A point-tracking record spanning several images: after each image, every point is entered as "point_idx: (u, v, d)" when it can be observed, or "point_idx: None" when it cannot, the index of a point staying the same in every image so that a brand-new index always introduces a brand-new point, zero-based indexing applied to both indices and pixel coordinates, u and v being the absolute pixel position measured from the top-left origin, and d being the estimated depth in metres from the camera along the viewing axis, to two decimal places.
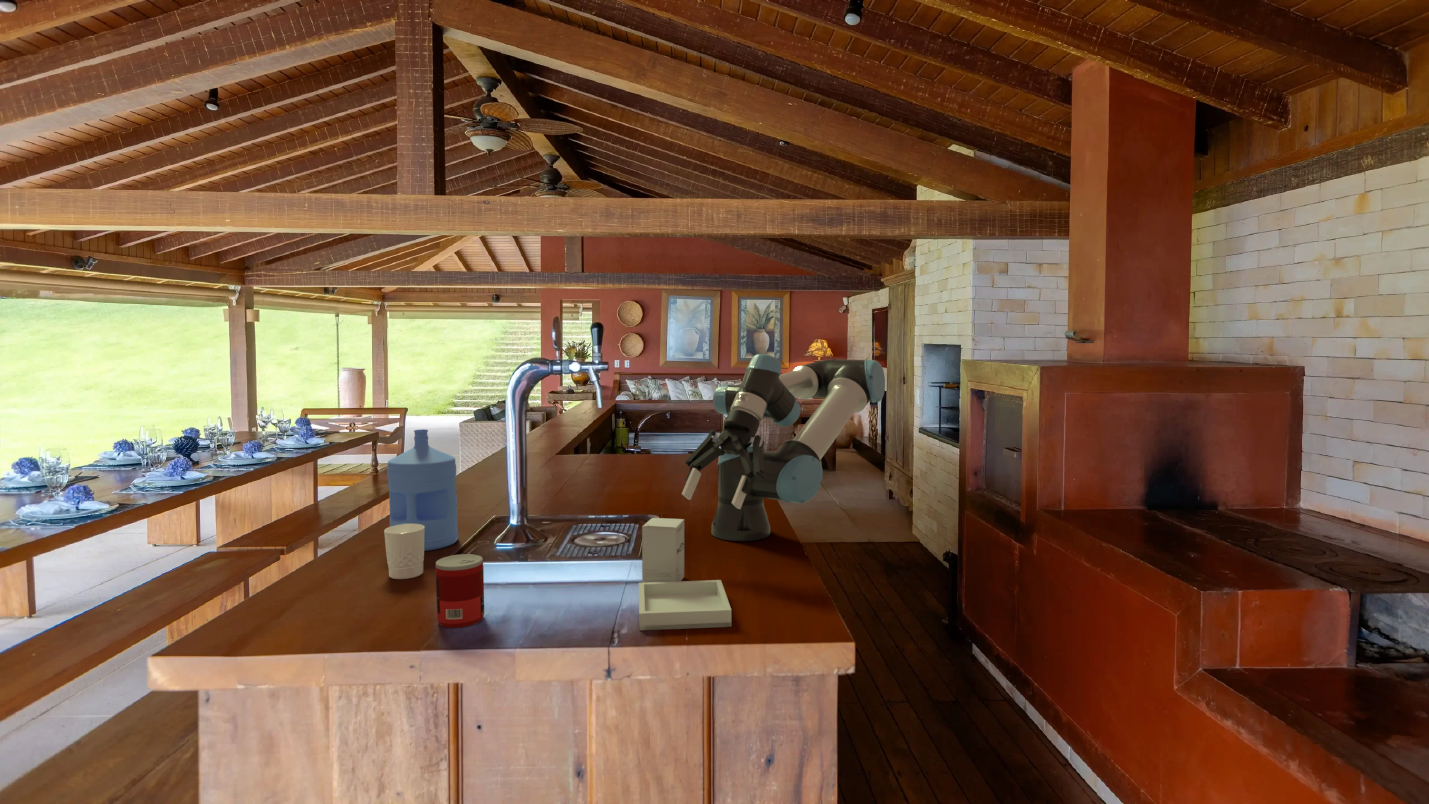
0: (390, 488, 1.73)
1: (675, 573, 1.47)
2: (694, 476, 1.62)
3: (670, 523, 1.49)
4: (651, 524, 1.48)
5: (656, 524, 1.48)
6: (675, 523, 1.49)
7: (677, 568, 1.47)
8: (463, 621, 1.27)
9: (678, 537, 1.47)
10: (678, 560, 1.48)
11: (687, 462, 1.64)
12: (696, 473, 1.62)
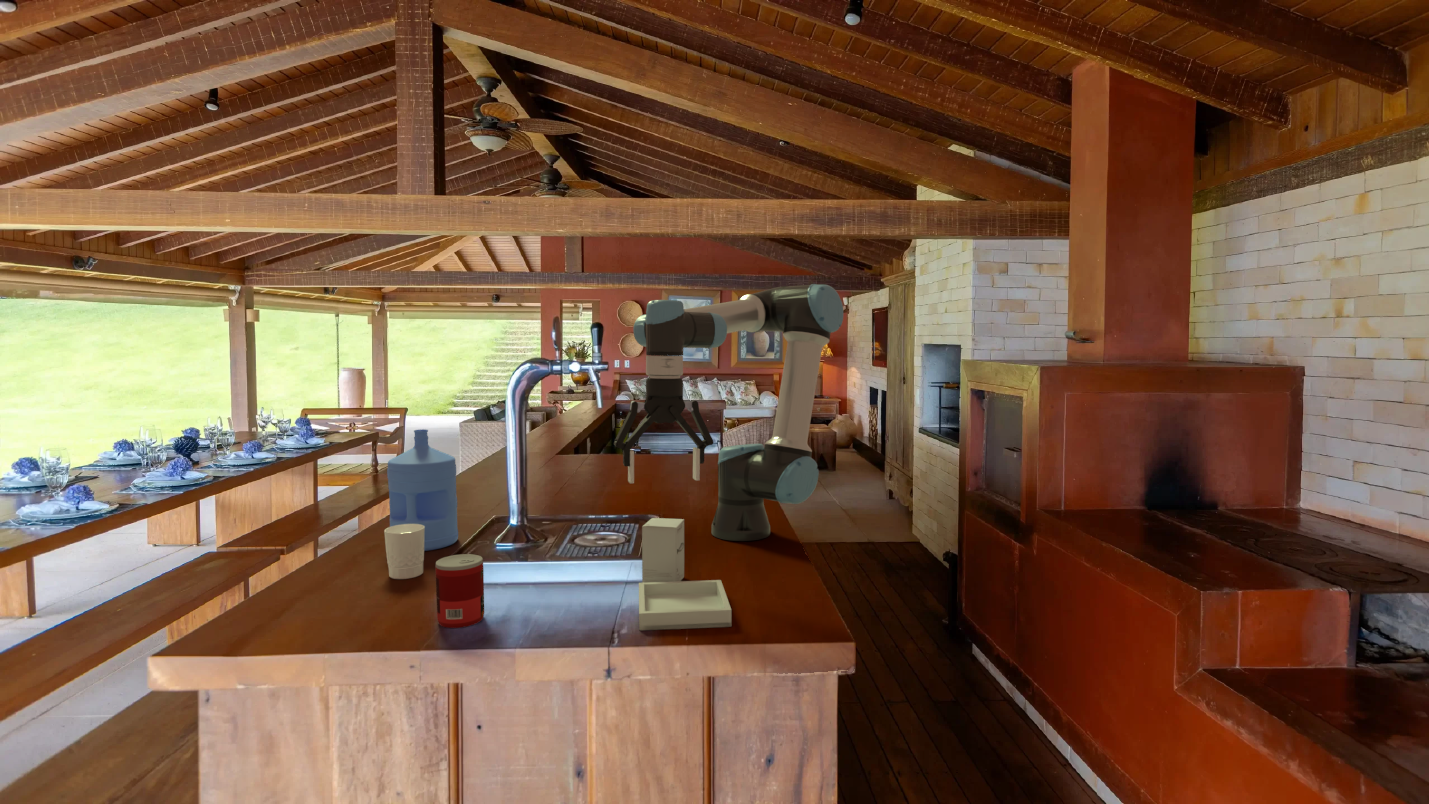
0: (390, 488, 1.73)
1: (675, 573, 1.47)
2: None
3: (670, 523, 1.49)
4: (651, 524, 1.48)
5: (656, 524, 1.48)
6: (675, 523, 1.49)
7: (677, 568, 1.47)
8: (463, 621, 1.27)
9: (678, 537, 1.47)
10: (678, 560, 1.48)
11: (619, 446, 1.45)
12: None
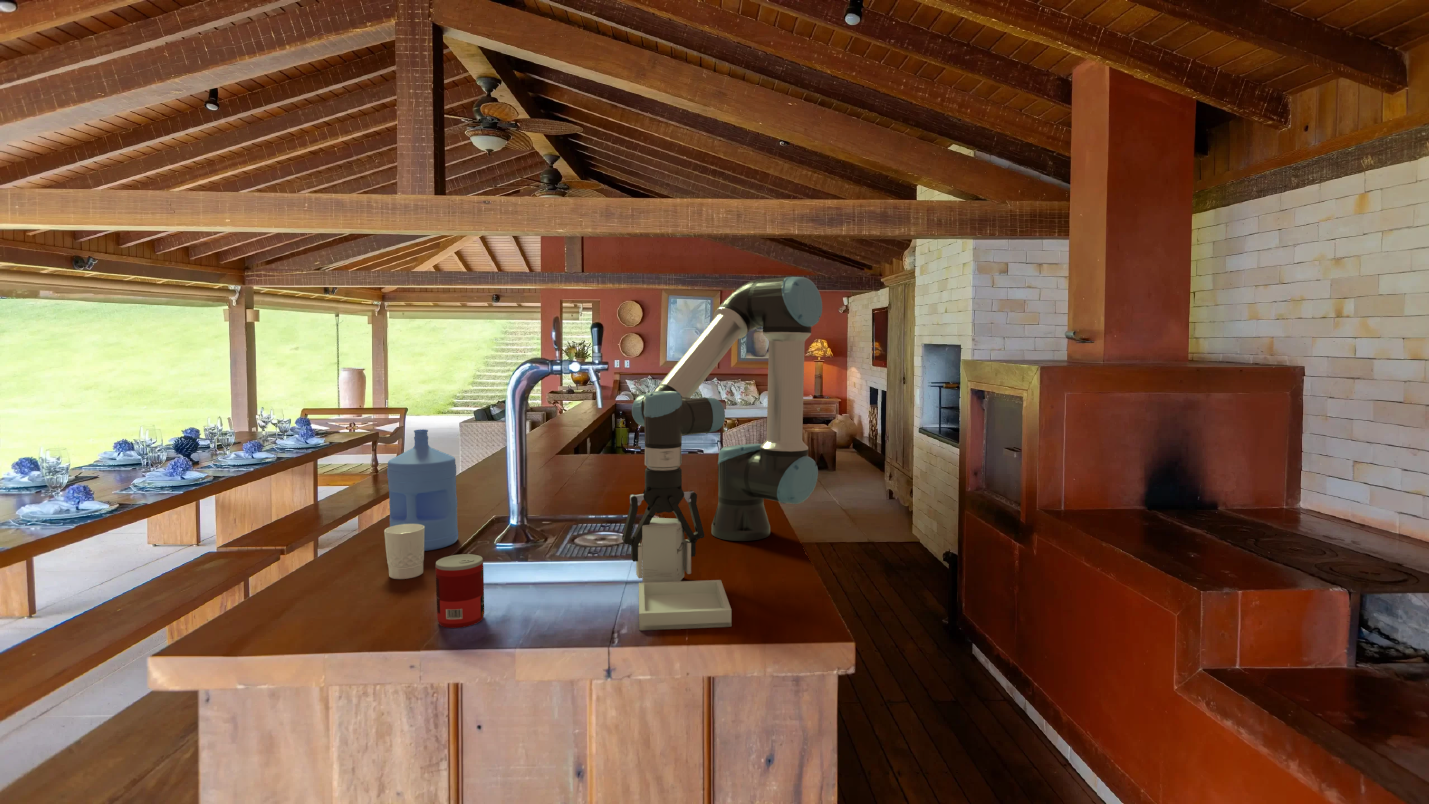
0: (390, 488, 1.73)
1: (675, 573, 1.47)
2: None
3: (670, 523, 1.49)
4: (651, 524, 1.48)
5: (656, 524, 1.48)
6: (675, 523, 1.49)
7: (677, 568, 1.47)
8: (463, 621, 1.27)
9: (678, 537, 1.47)
10: (678, 560, 1.48)
11: (628, 542, 1.47)
12: None
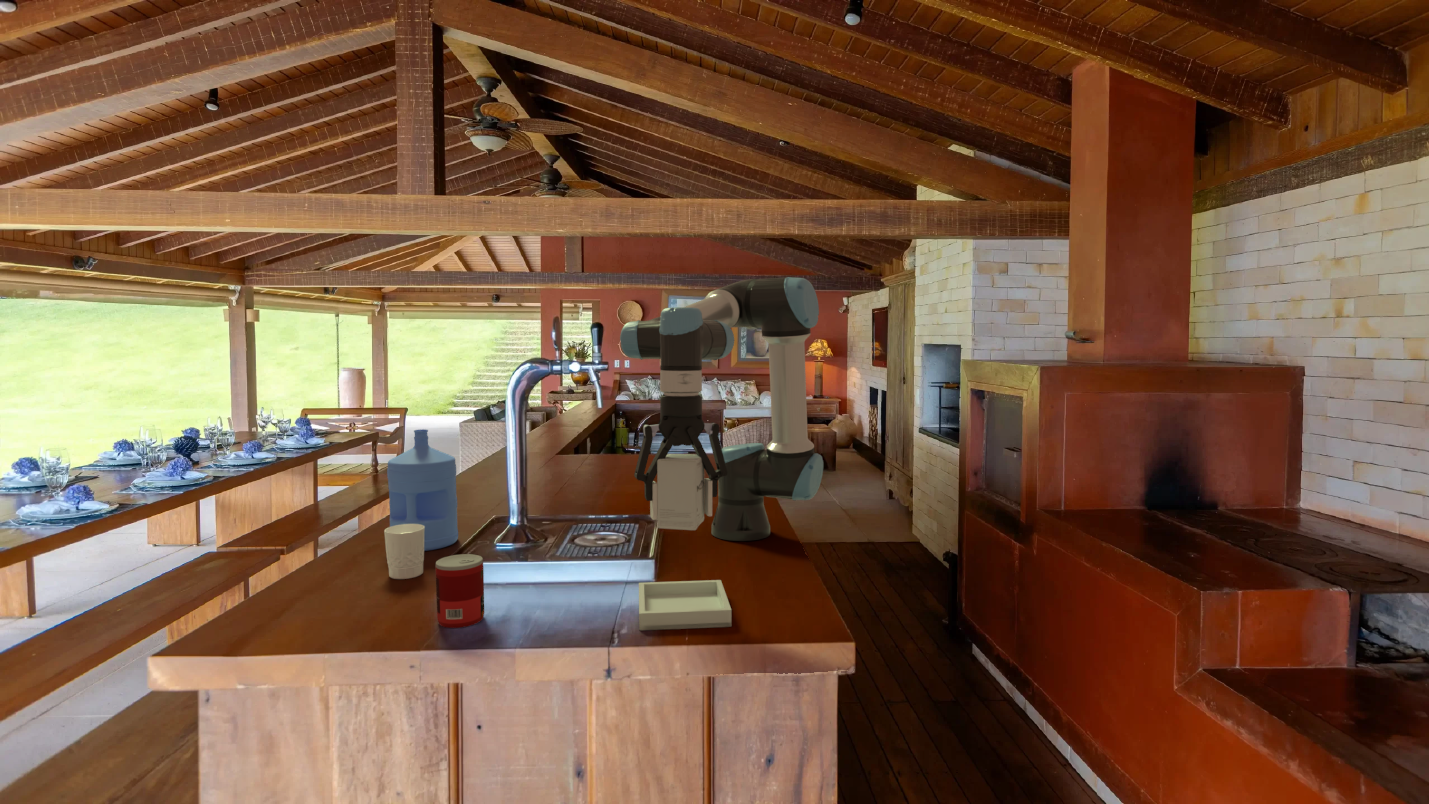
0: (390, 488, 1.73)
1: (695, 513, 1.29)
2: None
3: (689, 457, 1.31)
4: (667, 458, 1.30)
5: (673, 458, 1.30)
6: (694, 457, 1.31)
7: (697, 507, 1.30)
8: (463, 621, 1.27)
9: (698, 472, 1.30)
10: (698, 499, 1.30)
11: (641, 478, 1.29)
12: None
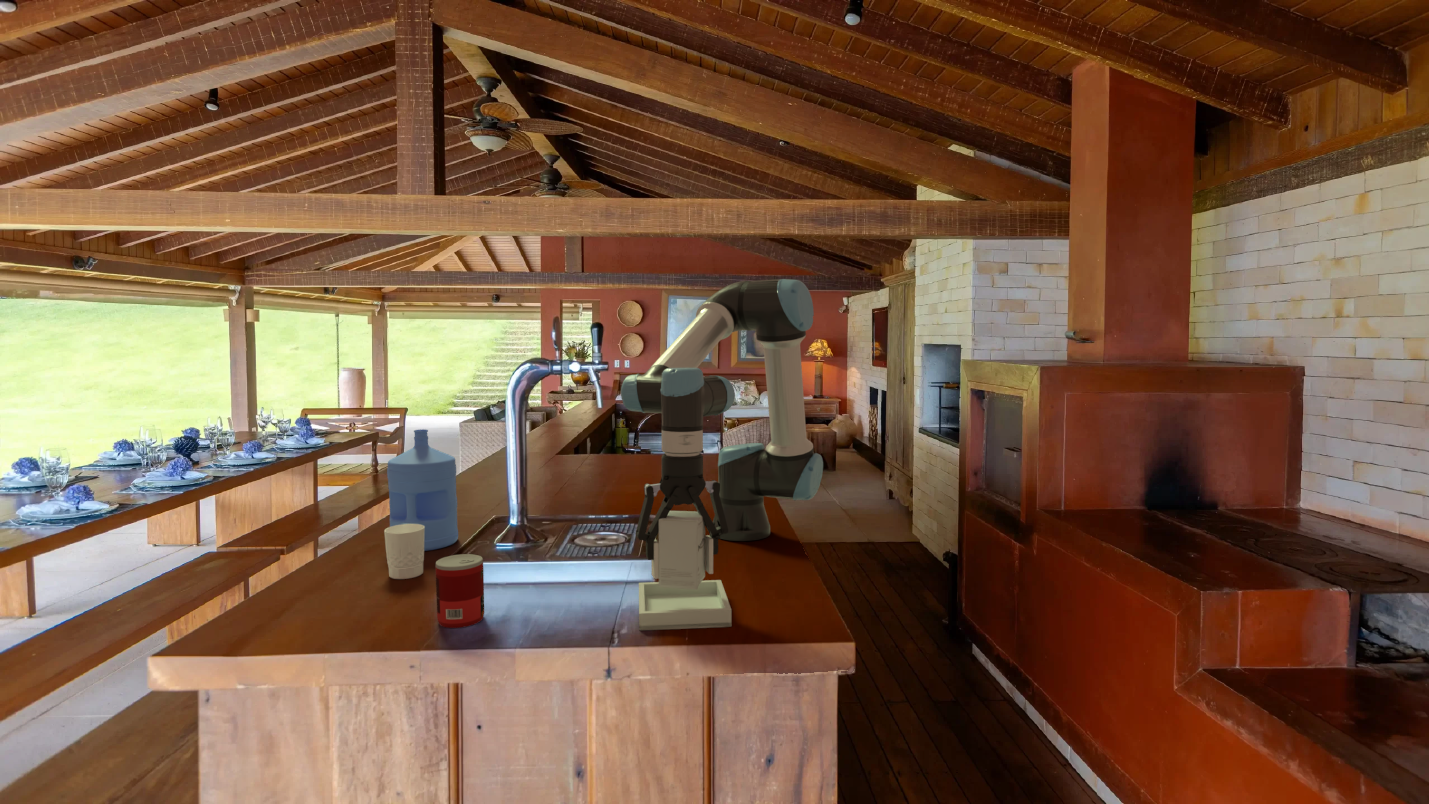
0: (390, 488, 1.73)
1: (696, 572, 1.30)
2: None
3: (690, 516, 1.32)
4: (669, 517, 1.31)
5: (674, 517, 1.31)
6: (696, 516, 1.32)
7: (698, 567, 1.30)
8: (463, 621, 1.27)
9: (699, 532, 1.30)
10: (699, 558, 1.31)
11: (642, 537, 1.30)
12: None
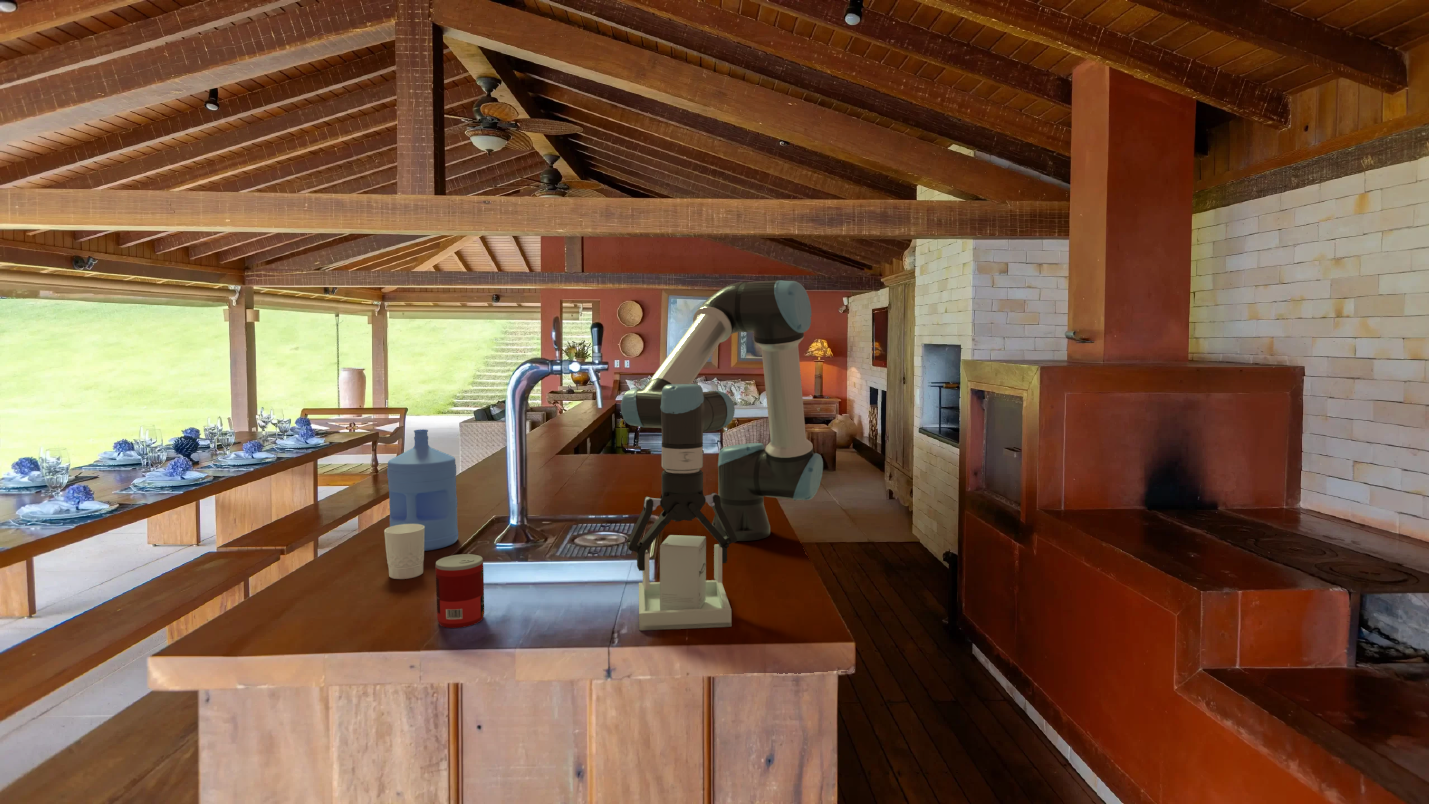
0: (390, 488, 1.73)
1: (697, 598, 1.30)
2: None
3: (691, 541, 1.32)
4: (670, 543, 1.31)
5: (675, 543, 1.31)
6: (697, 541, 1.32)
7: (699, 592, 1.31)
8: (463, 621, 1.27)
9: (700, 557, 1.31)
10: (700, 583, 1.31)
11: (633, 549, 1.30)
12: None
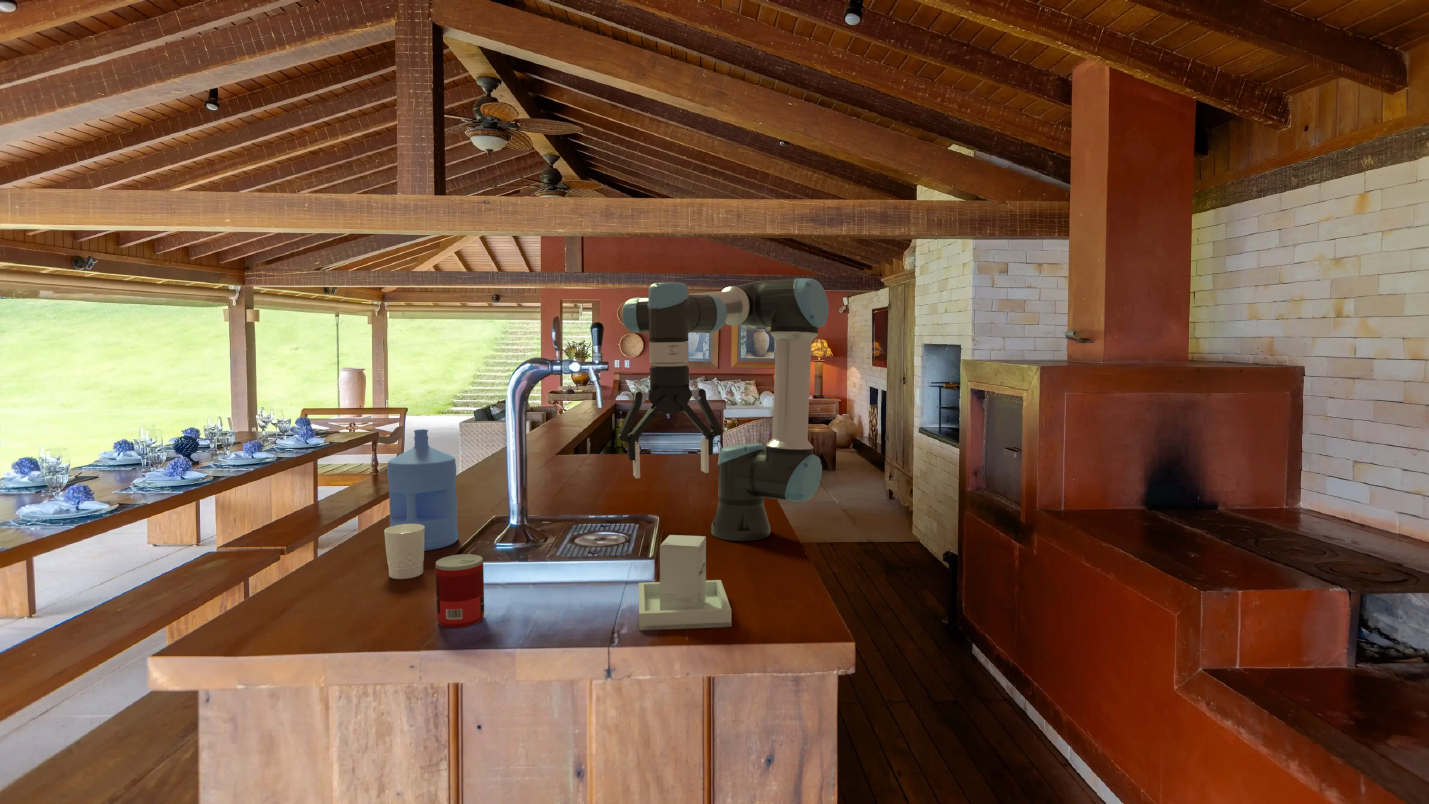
0: (390, 488, 1.73)
1: (697, 598, 1.30)
2: None
3: (691, 541, 1.32)
4: (670, 543, 1.31)
5: (675, 543, 1.31)
6: (697, 541, 1.32)
7: (699, 592, 1.31)
8: (463, 621, 1.27)
9: (700, 557, 1.31)
10: (700, 583, 1.31)
11: (624, 439, 1.36)
12: None
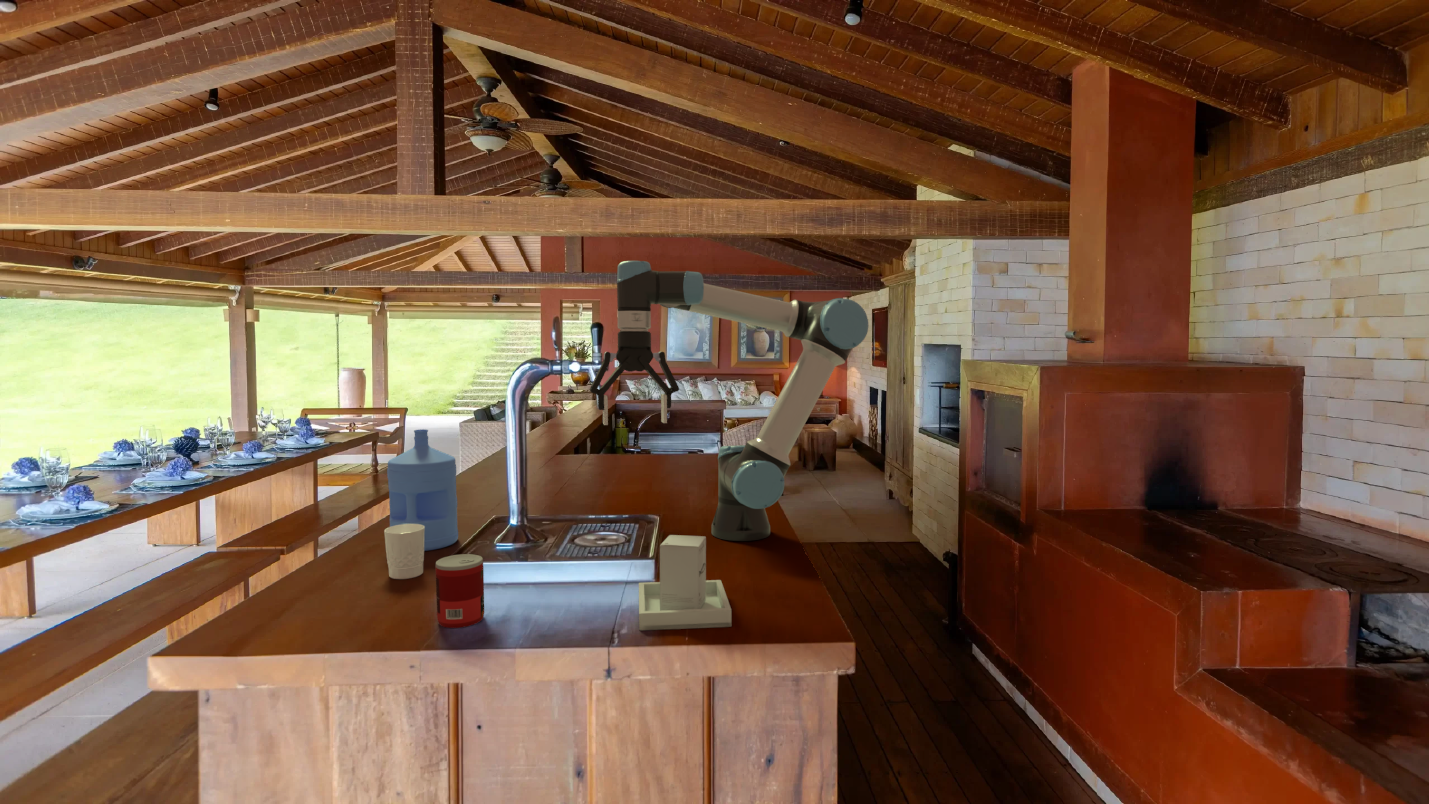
0: (390, 488, 1.73)
1: (697, 598, 1.30)
2: None
3: (691, 541, 1.32)
4: (670, 543, 1.31)
5: (675, 543, 1.31)
6: (697, 541, 1.32)
7: (699, 592, 1.31)
8: (463, 621, 1.27)
9: (700, 557, 1.31)
10: (700, 583, 1.31)
11: (594, 391, 1.63)
12: None
